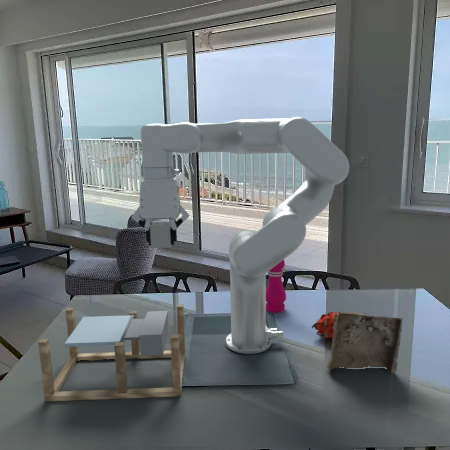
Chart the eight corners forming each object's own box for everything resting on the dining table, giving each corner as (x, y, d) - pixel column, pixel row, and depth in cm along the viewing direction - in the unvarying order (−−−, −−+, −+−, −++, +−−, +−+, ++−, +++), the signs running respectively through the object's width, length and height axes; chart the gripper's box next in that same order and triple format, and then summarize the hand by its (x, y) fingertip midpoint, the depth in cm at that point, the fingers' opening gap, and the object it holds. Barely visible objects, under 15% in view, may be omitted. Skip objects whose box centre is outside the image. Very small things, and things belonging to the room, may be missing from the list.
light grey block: (172, 242, 111) (171, 220, 110) (170, 247, 106) (169, 224, 105) (153, 243, 111) (152, 221, 110) (151, 248, 106) (149, 224, 105)
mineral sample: (328, 375, 99) (330, 315, 96) (325, 366, 103) (327, 309, 100) (400, 375, 98) (404, 315, 95) (394, 366, 102) (397, 308, 99)
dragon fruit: (358, 346, 116) (314, 349, 118) (352, 319, 122) (311, 323, 124) (358, 331, 110) (312, 335, 112) (352, 303, 115) (309, 308, 118)
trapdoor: (168, 327, 106) (167, 309, 105) (162, 357, 92) (161, 336, 91) (85, 330, 106) (83, 312, 105) (65, 360, 91) (63, 339, 90)
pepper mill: (271, 303, 143) (271, 247, 139) (289, 308, 139) (290, 250, 135) (260, 310, 137) (260, 252, 133) (279, 315, 133) (280, 255, 129)
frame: (185, 354, 110) (183, 304, 107) (180, 396, 92) (178, 337, 89) (72, 358, 109) (67, 307, 106) (45, 401, 91) (38, 342, 88)
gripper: (192, 172, 109) (195, 240, 112) (127, 173, 108) (132, 241, 112) (191, 174, 101) (194, 247, 105) (121, 176, 101) (126, 248, 105)
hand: (162, 243), depth 108 cm, fingers closed on light grey block, 5 cm apart
